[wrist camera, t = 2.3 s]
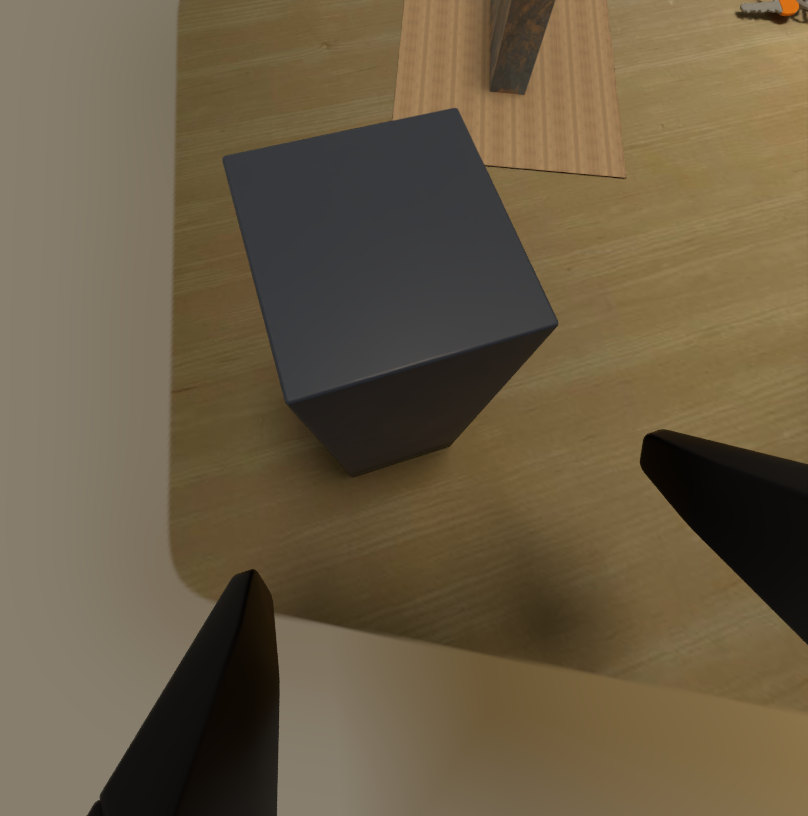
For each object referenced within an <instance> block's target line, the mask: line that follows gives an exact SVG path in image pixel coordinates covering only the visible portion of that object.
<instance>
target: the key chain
mask: <svg viewBox="0 0 808 816" xmlns="http://www.w3.org/2000/svg"><path fill="white" fill-rule="evenodd" d="M802 8H803V9H805V10H808V0H773V2H762V3H744V4H741V6H740V9H741V11H742V12H746V13H750V12H755V13H758V11H760V13H764V12H767V11H768V12H772V13H775V12H777V13H778V14H780V15H781V16H790V15H794V14H795V13H796V11H797V10H800V9H802Z"/></svg>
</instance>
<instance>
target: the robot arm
mask: <svg viewBox="0 0 808 816" xmlns="http://www.w3.org/2000/svg"><path fill="white" fill-rule="evenodd" d="M640 465H641V468H642V470H643V472H644V473H645V474H646V475H647V477H648V478H649V479H650V480H651V481H652V483H653V484H654V485H655V486H656V487H657V489H658V490H659V491H660V492H661V493H662V495H663V496H664V497H665V498H666V499H667V501H668V502H669V503H670V504H671V505H672V507H673V508H674V509H675V510H676V511H677V513H678V514H679V515H680V516H681V517H682V518H683V520H684V521H685V522H686V523H687V524H688V525H689V526H690V527H691V528H692V529H693V531H694V532H695V533H696V534H697V535H698V536H699V537H700V538H701V539H702V540H703V541H704V542H705V543H706V544H707V545H708V546H709V547H710V548H711V549H712V550H713V551H714V552H715V553H716V554H717V555H718V556H719V557H720V558H721V559H722V560H723V561H724V562H725V563H726V564H727V565H728V566H729V567H730V568H731V569H732V570H733V571H734V572H735V573H736V574H737V575H738V576H739V577H740V578H741V579H742V580H743V581H744V582H745V583H746V584H747V585H748V586H749V587H750V588H751V589H752V590H753V591H754V592H755V593H756V594H757V595H758V596H759V597H760V598H761V599H762V600H763V601H764V602H765V603H766V604H767V605H768V606H769V607H770V608H771V609H772V610H773V611H774V612H775V613H776V614H777V615H778V616H779V617H780V618H781V619H782V620H783V621H784V622H785V623H786V624H787V625H788V626H789V627H790V628H791V629H792V630H793V631H794V632H795V633H796V634H797V635H798V636H799V637H800V638H801V639H802V640H803V641H804V642H805V643H806V644H807V645H808V464H804V463H800V462H796V461H792V460H788V459H784V458H780V457H776V456H772V455H768V454H764V453H760V452H755V451H751V450H747V449H743V448H739V447H735V446H731V445H727V444H723V443H719V442H715V441H711V440H706V439H702V438H698V437H694V436H690V435H686V434H682V433H678V432H674V431H670V430H665V429H662V430H657V431H655V432H652V433H649V434H647V435H645V437H644V439H643V444H642V450H641V457H640ZM278 738H279V666H278V655H277V643H276V632H275V619H274V607H273V600H272V596H271V593H270V591H269V589H268V588H267V586H266V584H265V583H264V581H263V580H262V578H261V576H260V575H259V573H258V572H257V571H256V570H255V569H251V570H248V571H245V572H242V573H239V574H236V575H235V576H234V577H233V578H232V579H231V580H230V582H229V584H228V585H227V587H226V589H225V590H224V592H223V593H222V595H221V597H220V598H219V600H218V602H217V603H216V605H215V607H214V608H213V610H212V611H211V613H210V615H209V616H208V618H207V620H206V621H205V623H204V625H203V626H202V628H201V630H200V631H199V633H198V634H197V636H196V638H195V639H194V641H193V643H192V644H191V646H190V648H189V649H188V651H187V653H186V654H185V656H184V657H183V659H182V661H181V663H180V664H179V666H178V667H177V669H176V671H175V672H174V674H173V676H172V677H171V679H170V681H169V682H168V684H167V685H166V687H165V689H164V690H163V692H162V694H161V695H160V697H159V699H158V700H157V702H156V703H155V705H154V707H153V708H152V710H151V712H150V713H149V715H148V717H147V718H146V720H145V722H144V723H143V725H142V726H141V728H140V730H139V731H138V733H137V735H136V736H135V738H134V740H133V741H132V743H131V744H130V746H129V748H128V749H127V751H126V753H125V754H124V756H123V758H122V759H121V761H120V763H119V764H118V766H117V767H116V769H115V771H114V772H113V774H112V776H111V777H110V779H109V781H108V782H107V784H106V786H105V787H104V789H103V791H102V792H101V794H100V800H98V801H97V802H95V803H94V805H93V806H92V808H91V810H90V811H89V813H88V815H87V816H277V782H278Z"/></svg>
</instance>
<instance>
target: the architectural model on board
mask: <svg viewBox="0 0 808 816" xmlns="http://www.w3.org/2000/svg"><path fill="white" fill-rule="evenodd" d="M450 108H457V109H458V110H459V112H460V114H461V117H462V119H463V121H464V123H465V125H466V127H467V129H468V131H469V133H470V136H471V138H472V140H473V142H474V144H475V146H476V148H477V150H478V153H479V155H480V157H481V159H482V161H483V163H484V165H491V166H502V167H513V168H524V169H535V170H546V171H557V172H568V173H579V174H590V175H601V176H612V177H623V178H626V171H625V162H624V153H623V144H622V135H621V125H620V116H619V107H618V98H617V89H616V80H615V71H614V62H613V53H612V44H611V35H610V26H609V17H608V7H607V0H405V3H404V13H403V23H402V33H401V43H400V53H399V63H398V73H397V83H396V92H395V102H394V112H393V120H398V119H403V118H407V117H412V116H417V115H422V114H426V113H431V112H436V111H441V110H446V109H450Z"/></svg>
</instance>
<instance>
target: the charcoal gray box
mask: <svg viewBox="0 0 808 816" xmlns="http://www.w3.org/2000/svg"><path fill="white" fill-rule="evenodd" d="M223 165H224V169H225V172H226V176H227V180H228V184H229V188H230V192H231V196H232V199H233V203H234V207H235V211H236V215H237V219H238V223H239V226H240V230H241V234H242V238H243V242H244V246H245V250H246V253H247V257H248V261H249V265H250V269H251V273H252V277H253V280H254V284H255V288H256V292H257V296H258V300H259V304H260V307H261V311H262V315H263V319H264V323H265V327H266V331H267V334H268V338H269V342H270V346H271V350H272V354H273V358H274V361H275V365H276V369H277V373H278V377H279V381H280V385H281V388H282V392H283V396H284V400H285V403H286V404H287V405H288V406H289V407H290V408H291V410H292V411H293V412H294V413H295V414H296V415H297V416H298V417H299V418H300V420H301V421H302V422H303V423H304V424H305V425H306V426H307V427H308V428H309V430H310V431H311V432H312V433H313V434H314V435H315V436H316V437H317V438H318V440H319V441H320V442H321V443H322V444H323V445H324V446H325V447H326V448H327V450H328V451H329V452H330V453H331V454H332V455H333V456H334V457H335V458H336V460H337V461H338V462H339V463H340V464H341V465H342V466H343V467H344V468H345V470H346V471H347V472H348V473H349V474H350V475H351V476H352V477H356V476H359V475H362V474H365V473H368V472H371V471H374V470H378V469H381V468H384V467H387V466H390V465H393V464H396V463H399V462H402V461H405V460H409V459H412V458H415V457H418V456H421V455H424V454H427V453H430V452H433V451H436V450H440V449H443V448H446V447H449V446H451V444H452V443H453V442H454V441H455V440H456V439H457V438H458V437H459V436H460V434H461V433H462V432H463V431H464V430H465V429H466V428H467V427H468V425H469V424H470V423H471V422H472V421H473V420H474V419H475V418H476V417H477V415H478V414H479V413H480V412H481V411H482V410H483V409H484V408H485V406H486V405H487V404H488V403H489V402H490V401H491V400H492V399H493V398H494V396H495V395H496V394H497V393H498V392H499V391H500V390H501V389H502V387H503V386H504V385H505V384H506V383H507V382H508V381H509V380H510V379H511V377H512V376H513V375H514V374H515V373H516V372H517V371H518V370H519V368H520V367H521V366H522V365H523V364H524V363H525V362H526V361H527V360H528V358H529V357H530V356H531V355H532V354H533V353H534V352H535V351H536V350H537V348H538V347H539V346H540V345H541V344H542V343H543V342H544V341H545V339H546V338H547V337H548V336H549V335H550V334H551V333H552V332H553V331H554V329H555V328H556V327H557V326H558V320H557V318H556V316H555V314H554V312H553V310H552V307H551V305H550V303H549V301H548V299H547V297H546V295H545V293H544V290H543V288H542V286H541V284H540V282H539V280H538V278H537V276H536V273H535V271H534V269H533V267H532V265H531V263H530V261H529V259H528V257H527V254H526V252H525V250H524V248H523V246H522V244H521V242H520V240H519V237H518V235H517V233H516V231H515V229H514V227H513V225H512V223H511V220H510V218H509V216H508V214H507V212H506V210H505V208H504V206H503V203H502V201H501V199H500V197H499V195H498V193H497V191H496V189H495V187H494V184H493V182H492V180H491V178H490V176H489V174H488V172H487V170H486V167H485V165H484V163H483V161H482V159H481V157H480V155H479V153H478V150H477V148H476V146H475V144H474V142H473V140H472V138H471V136H470V133H469V131H468V129H467V127H466V125H465V123H464V121H463V119H462V117H461V114H460V112H459V110H458V109H457V108H450V109H446V110H441V111H436V112H431V113H426V114H422V115H417V116H412V117H407V118H403V119H398V120H393V121H388V122H384V123H379V124H374V125H369V126H365V127H360V128H355V129H350V130H346V131H341V132H336V133H331V134H326V135H322V136H317V137H312V138H307V139H303V140H298V141H293V142H288V143H284V144H279V145H274V146H269V147H265V148H260V149H255V150H250V151H245V152H241V153H236V154H231V155H226V156H224V157H223Z"/></svg>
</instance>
